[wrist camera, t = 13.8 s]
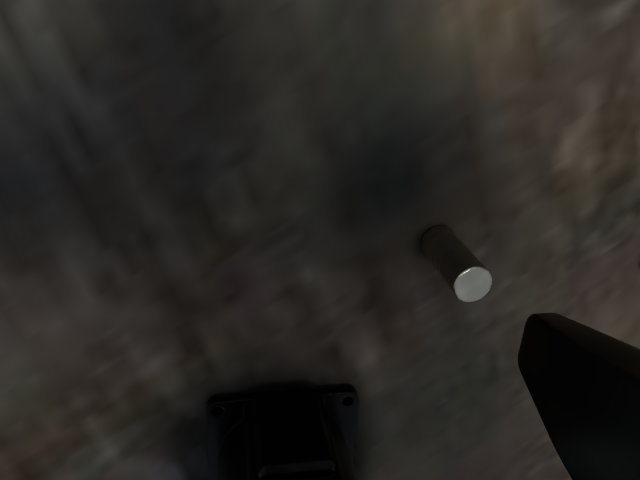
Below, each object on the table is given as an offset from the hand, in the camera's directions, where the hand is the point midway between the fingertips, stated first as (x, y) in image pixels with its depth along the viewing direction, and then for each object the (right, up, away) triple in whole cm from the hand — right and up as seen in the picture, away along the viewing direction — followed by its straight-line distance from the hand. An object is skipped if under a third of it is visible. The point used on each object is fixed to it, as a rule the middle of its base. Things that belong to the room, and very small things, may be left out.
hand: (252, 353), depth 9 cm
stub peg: (+6, +2, +14) cm, 15 cm away
